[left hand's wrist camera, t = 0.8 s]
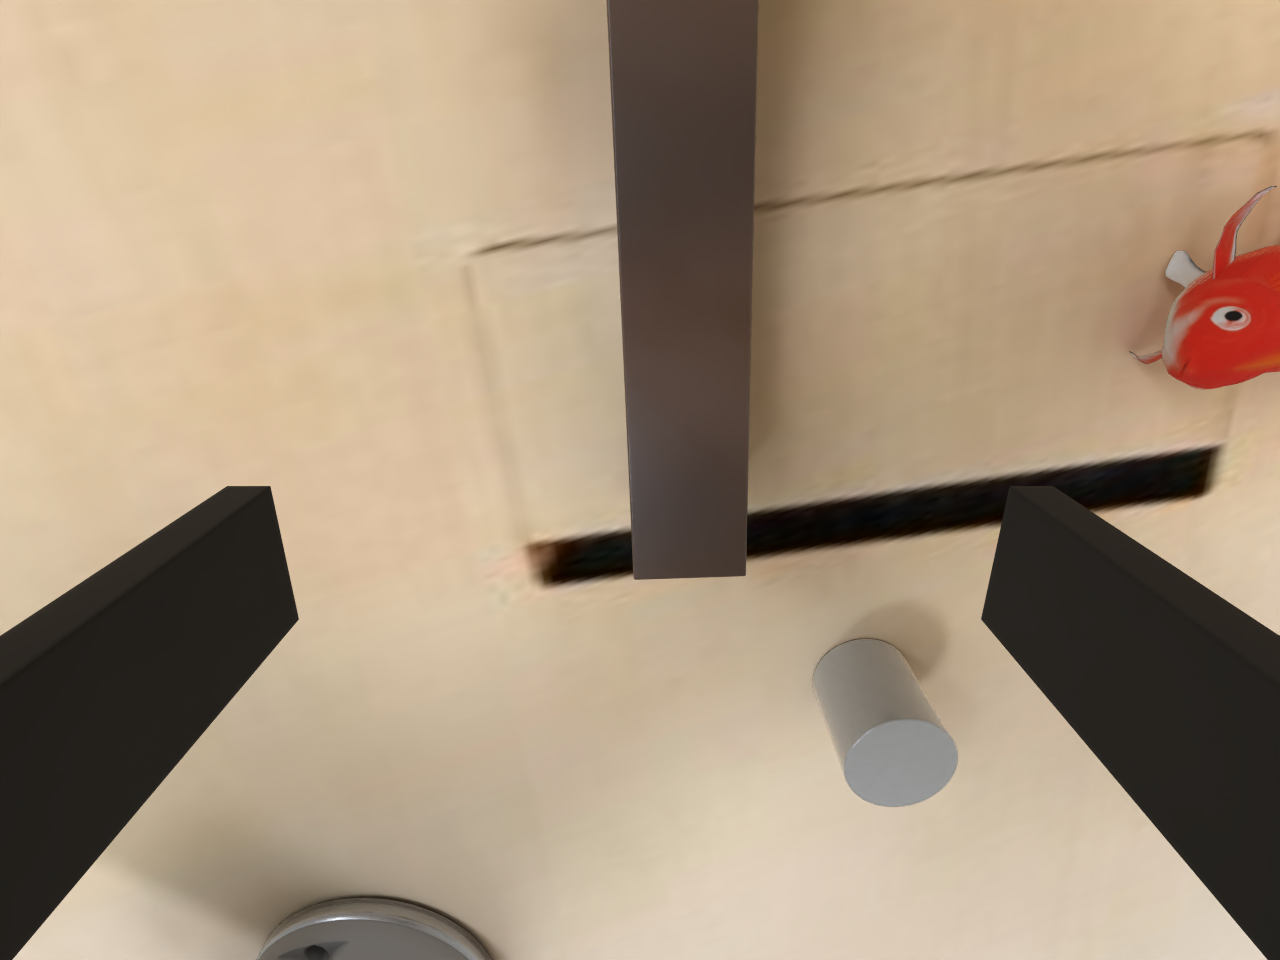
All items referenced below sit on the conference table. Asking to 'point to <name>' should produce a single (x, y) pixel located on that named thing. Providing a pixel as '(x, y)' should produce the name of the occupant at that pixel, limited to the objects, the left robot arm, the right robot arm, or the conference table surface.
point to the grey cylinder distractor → (883, 724)
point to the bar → (685, 274)
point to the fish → (1224, 314)
